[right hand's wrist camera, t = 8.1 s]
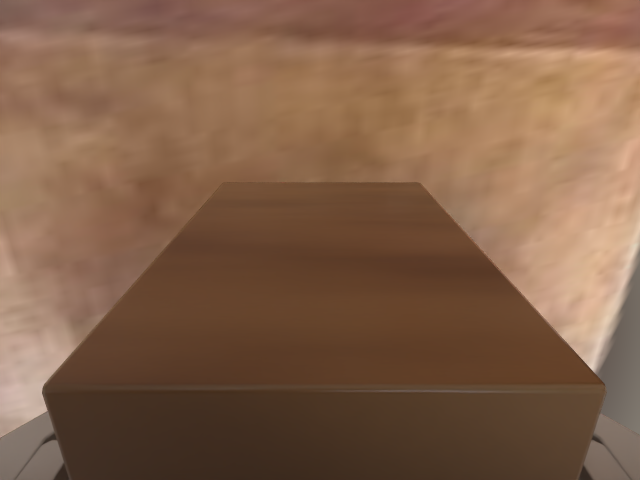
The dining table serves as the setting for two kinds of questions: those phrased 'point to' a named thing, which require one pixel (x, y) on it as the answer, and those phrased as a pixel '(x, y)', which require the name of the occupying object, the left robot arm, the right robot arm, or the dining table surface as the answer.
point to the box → (323, 352)
